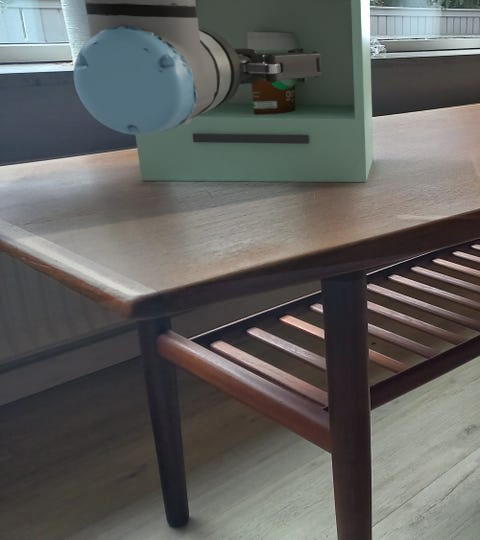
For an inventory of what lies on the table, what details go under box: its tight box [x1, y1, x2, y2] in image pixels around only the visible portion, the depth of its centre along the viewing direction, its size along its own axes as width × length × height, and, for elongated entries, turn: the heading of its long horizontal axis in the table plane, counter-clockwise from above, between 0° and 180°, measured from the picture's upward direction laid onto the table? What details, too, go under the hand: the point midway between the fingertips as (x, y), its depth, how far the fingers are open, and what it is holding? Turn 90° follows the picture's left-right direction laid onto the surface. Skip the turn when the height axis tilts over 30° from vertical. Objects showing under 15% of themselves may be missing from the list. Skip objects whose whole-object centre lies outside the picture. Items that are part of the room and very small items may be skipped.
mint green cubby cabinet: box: [118, 0, 374, 183], centre depth 91 cm, size 17×28×25 cm, turn 95°
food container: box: [247, 31, 300, 115], centre depth 91 cm, size 12×6×10 cm, turn 13°
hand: (243, 58), depth 82 cm, fingers open, 13 cm apart
